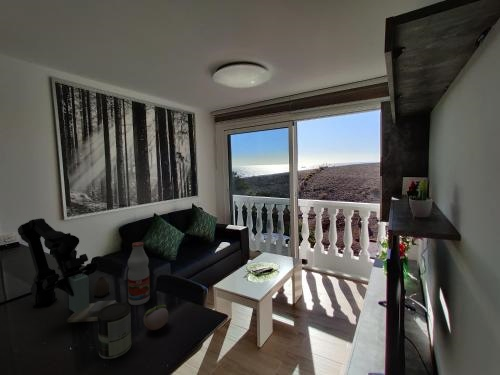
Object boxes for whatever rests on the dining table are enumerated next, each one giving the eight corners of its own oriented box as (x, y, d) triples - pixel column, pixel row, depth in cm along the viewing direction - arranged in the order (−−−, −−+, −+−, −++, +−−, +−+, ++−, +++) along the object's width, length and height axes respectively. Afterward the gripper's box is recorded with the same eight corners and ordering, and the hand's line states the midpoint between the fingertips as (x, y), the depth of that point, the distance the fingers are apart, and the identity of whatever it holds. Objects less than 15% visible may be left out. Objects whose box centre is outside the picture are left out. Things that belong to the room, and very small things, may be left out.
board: (67, 322, 102) (66, 313, 102) (83, 306, 114) (83, 298, 114) (107, 320, 104) (107, 311, 104) (119, 304, 116) (118, 296, 116)
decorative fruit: (153, 340, 93) (153, 314, 92) (140, 332, 97) (139, 307, 96) (173, 326, 101) (173, 303, 100) (160, 320, 105) (159, 297, 104)
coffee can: (92, 360, 83) (90, 319, 82) (107, 338, 93) (106, 302, 92) (124, 358, 84) (123, 318, 83) (136, 337, 94) (135, 301, 93)
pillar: (69, 308, 100) (68, 275, 99) (82, 303, 104) (81, 271, 103) (75, 313, 97) (74, 278, 96) (89, 306, 102) (88, 274, 100)
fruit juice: (150, 294, 126) (149, 239, 124) (149, 303, 117) (148, 245, 115) (129, 297, 123) (128, 241, 120) (127, 307, 114) (125, 247, 112)
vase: (102, 299, 121) (101, 281, 120) (90, 297, 122) (89, 280, 121) (112, 292, 127) (112, 275, 127) (101, 290, 129) (100, 274, 128)
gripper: (44, 256, 92) (60, 293, 88) (96, 243, 109) (111, 274, 104) (35, 271, 97) (50, 307, 93) (86, 257, 113) (101, 287, 109)
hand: (80, 292), depth 100 cm, fingers closed on pillar, 5 cm apart
